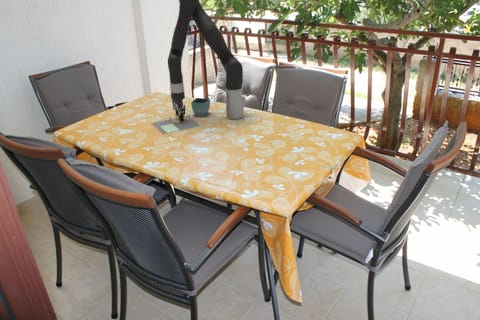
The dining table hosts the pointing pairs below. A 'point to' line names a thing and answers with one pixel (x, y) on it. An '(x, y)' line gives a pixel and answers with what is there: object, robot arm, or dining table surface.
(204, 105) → the flower pot
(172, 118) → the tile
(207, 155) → the dining table surface
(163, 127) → the mat
